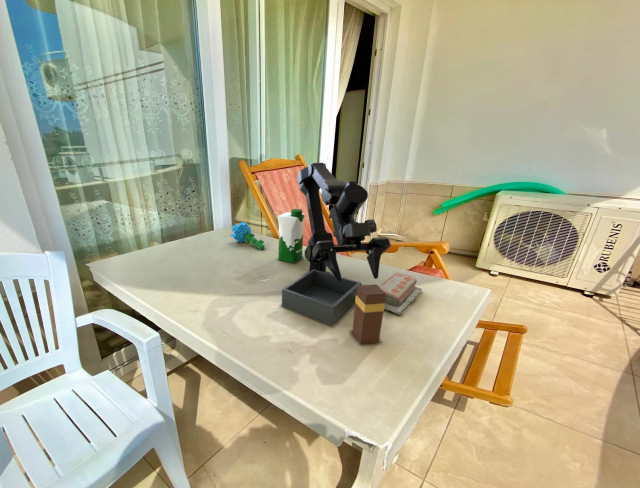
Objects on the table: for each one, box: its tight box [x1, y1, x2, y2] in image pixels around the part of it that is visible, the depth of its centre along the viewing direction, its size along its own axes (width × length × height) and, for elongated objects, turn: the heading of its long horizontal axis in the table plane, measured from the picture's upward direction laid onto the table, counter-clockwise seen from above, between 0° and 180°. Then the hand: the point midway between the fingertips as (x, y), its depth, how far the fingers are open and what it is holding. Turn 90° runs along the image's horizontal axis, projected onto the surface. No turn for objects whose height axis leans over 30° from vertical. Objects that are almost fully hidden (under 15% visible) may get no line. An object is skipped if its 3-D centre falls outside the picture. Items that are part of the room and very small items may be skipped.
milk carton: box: [277, 208, 306, 264], centre depth 118 cm, size 9×9×20 cm
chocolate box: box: [351, 284, 386, 345], centre depth 71 cm, size 5×5×13 cm
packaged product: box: [378, 272, 423, 315], centre depth 89 cm, size 18×5×10 cm
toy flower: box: [230, 221, 266, 250], centre depth 137 cm, size 9×9×18 cm
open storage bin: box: [281, 269, 362, 327], centre depth 88 cm, size 18×16×6 cm
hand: (358, 279), depth 75 cm, fingers open, 9 cm apart
